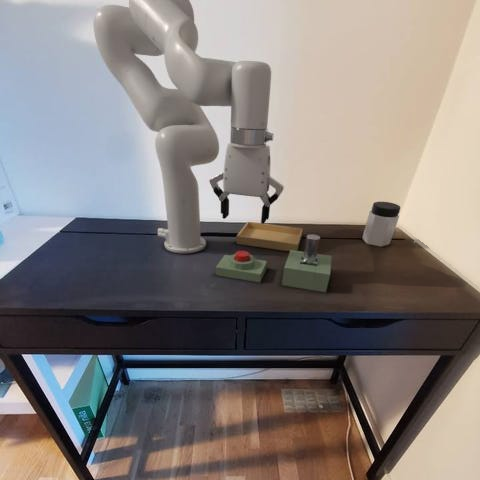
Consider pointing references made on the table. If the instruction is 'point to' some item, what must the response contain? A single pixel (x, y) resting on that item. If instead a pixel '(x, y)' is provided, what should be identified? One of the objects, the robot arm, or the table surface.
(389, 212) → the jar
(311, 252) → the grey peg
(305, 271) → the green slotted base
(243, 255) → the stop button
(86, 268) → the table surface
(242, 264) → the stop block
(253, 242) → the tray
